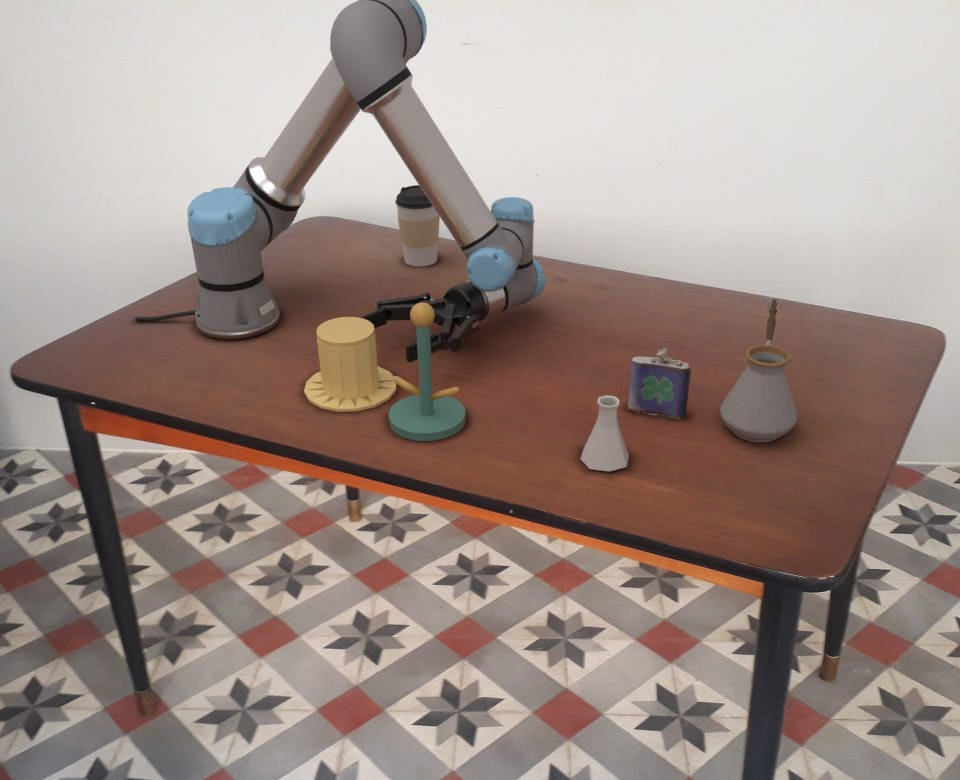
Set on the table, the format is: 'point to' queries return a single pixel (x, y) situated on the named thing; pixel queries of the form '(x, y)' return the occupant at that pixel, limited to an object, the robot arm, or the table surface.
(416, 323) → the hat stand
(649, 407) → the flask
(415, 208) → the coffee cup
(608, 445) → the flask
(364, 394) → the hat
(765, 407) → the coffee pot
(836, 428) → the table surface
